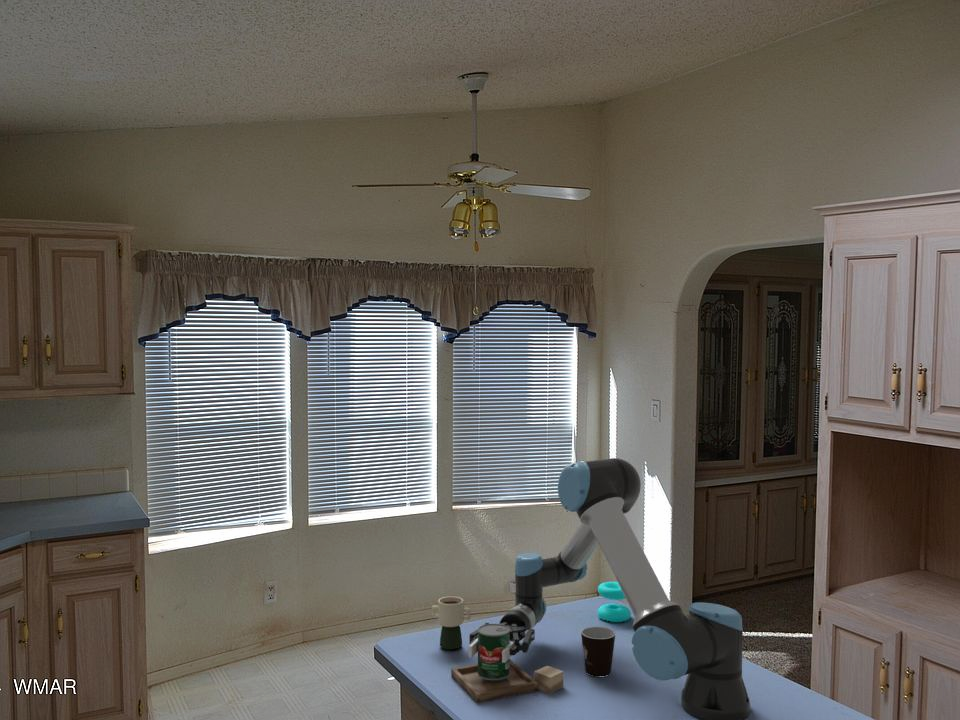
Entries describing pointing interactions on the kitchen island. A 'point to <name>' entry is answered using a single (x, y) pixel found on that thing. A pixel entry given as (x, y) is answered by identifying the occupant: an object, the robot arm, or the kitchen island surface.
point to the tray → (493, 683)
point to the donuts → (613, 610)
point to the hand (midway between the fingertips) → (486, 654)
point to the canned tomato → (493, 651)
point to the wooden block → (549, 679)
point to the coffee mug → (598, 650)
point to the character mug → (450, 620)
